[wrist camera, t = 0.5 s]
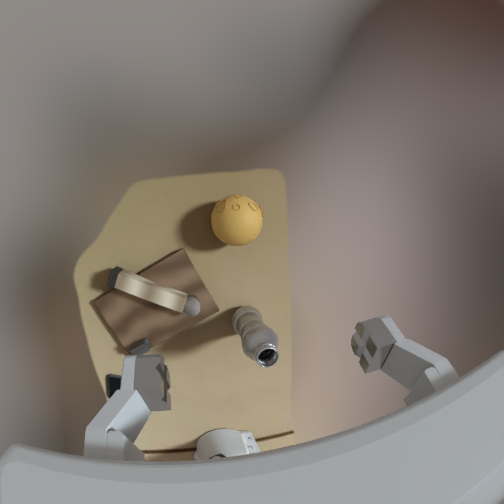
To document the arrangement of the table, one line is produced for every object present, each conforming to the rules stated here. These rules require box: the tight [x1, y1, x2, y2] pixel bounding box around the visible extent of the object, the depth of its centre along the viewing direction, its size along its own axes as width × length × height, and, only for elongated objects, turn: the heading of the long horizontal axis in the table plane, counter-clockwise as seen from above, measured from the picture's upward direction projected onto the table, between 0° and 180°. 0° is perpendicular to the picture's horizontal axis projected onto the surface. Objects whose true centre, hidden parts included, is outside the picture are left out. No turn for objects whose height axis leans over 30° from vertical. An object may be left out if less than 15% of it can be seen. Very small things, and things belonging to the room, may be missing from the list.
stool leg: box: [107, 266, 200, 316], centre depth 54 cm, size 19×3×4 cm, turn 68°
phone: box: [107, 374, 122, 398], centre depth 60 cm, size 8×1×15 cm
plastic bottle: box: [232, 306, 279, 367], centre depth 53 cm, size 6×7×20 cm
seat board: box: [94, 248, 219, 355], centre depth 56 cm, size 15×23×5 cm, turn 118°
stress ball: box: [210, 195, 263, 246], centre depth 55 cm, size 10×10×10 cm
